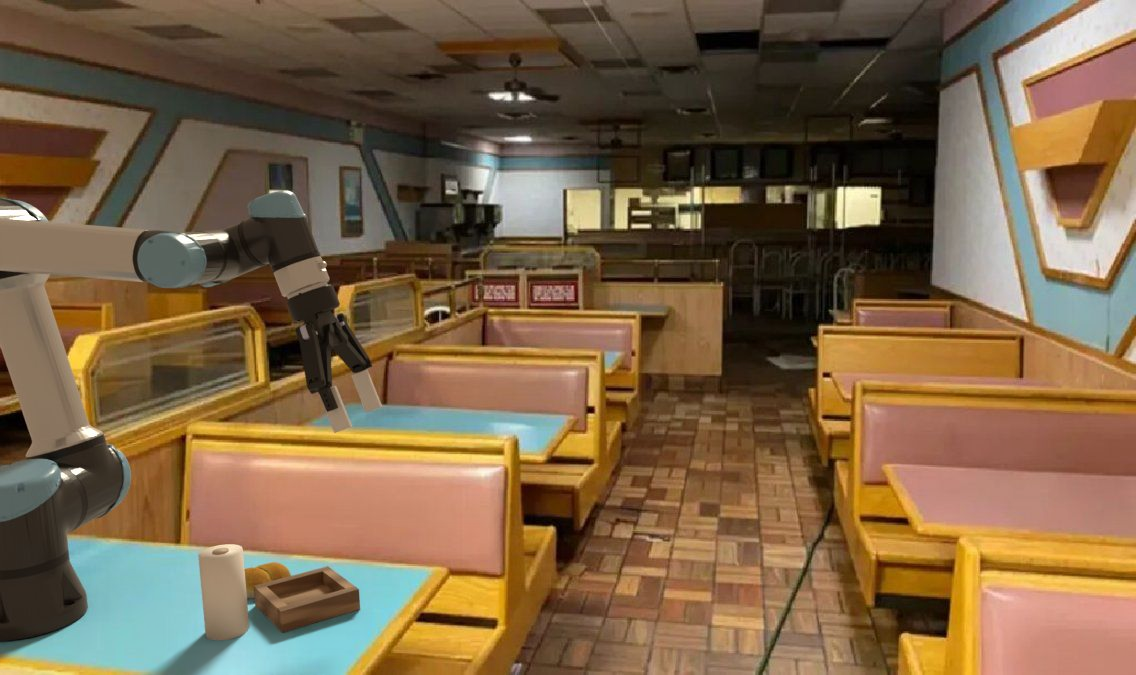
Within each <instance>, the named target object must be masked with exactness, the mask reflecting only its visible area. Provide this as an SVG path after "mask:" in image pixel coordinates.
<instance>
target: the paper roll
mask: <svg viewBox="0 0 1136 675" xmlns="http://www.w3.org/2000/svg"><path fill="white" fill-rule="evenodd" d="M197 556H198V568H199V575H200V576H199V578H200V588H201V600H202V609H203V610H202V611H203V621H204V622H203V623H204V633H205V637H206V638H207V639H209V640H212V641H227V640H228V641H229V640H231V639H235V638H238V637H240V636H242V635H244V634H246V633H247V632H248V631H249V630H248V629H250V619H249V618H250V617H249V610H248V609H249V608H248V606H249V604H248V598H247V594H246V582H245V570H244V569H245V560H244V550H243V546H242V545H239V544H233V543H231V544H230V543H229V544H219V545H214V546H210V547H207V548H204V549H203V550H201V551H200V552H199V553H198V555H197Z"/></svg>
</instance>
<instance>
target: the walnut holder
mask: <svg viewBox="0 0 1136 675" xmlns="http://www.w3.org/2000/svg"><path fill="white" fill-rule="evenodd" d="M254 597H255V598H254V605H255V608H257V609H258V610H259V611H260V612H261V613H262V614H264V616H265V617H266V618H267V619H268V620H269V621H270V622H271V623H272V624H273V625H274V626H275V627H276V628H278V630H279V631H280V632H282V633H286V632H289V631H293V630H296V629H298V628H299V629H300V628H302V627H305V626H306V627H307V626H309V625H312V624H315V623H319V622H322V621H325V620H328V619H332V618H336V617H338V616H342V615H345V614H349V613H352V612H356V611H359V610H361V600H360V589H359V587H357V586H355V585H354V584H353V583H351V581H348V580H347V579H346V578H344V576H342V575H340V574H339V573H338V572H337V571H335V570H334V569H333V568H331V567H330V566H329V565H326V566H324V567H320V568H316V569H312V570H308V571H304V572H301V573H297V574H294V575H291V576H289V577H285V578H282V579H278V580H274V581H270V582H267V583H263V584H259V585H255V586H254Z"/></svg>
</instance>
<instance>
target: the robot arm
mask: <svg viewBox="0 0 1136 675" xmlns="http://www.w3.org/2000/svg"><path fill="white" fill-rule="evenodd" d="M246 209H247V211H248V215H249V217H247V218H245V219H243V220H242V221H239V222H236V223H235V224H232V225H229V226H227V227H224V228H221V229H215V230H214V229H213V230H212V229H211V230H200V231H198V230H196V231H170V230H157V229H154V230H153V229H142V228H130V227H119V226H118V227H117V226H116V227H115V226H106V225H93V224H79V223H68V222H67V223H66V222H54V221H53V222H52V221H49V220H48V219H47V217H46V216H45V214H44V213H43V212H41V211H40V210H39V209H38V208H37V207H35V206H33V205H32V204H30V203H27V202H26V201H22V200H18V199H17V200H16V199H10V198H6V197H0V349H1V352H2V355H3V359H4V361H5V364H6V367H7V370H8V373H9V376H10V379H11V381H12V382H11V383H12V385H13V388H14V391H15V393H16V394H15V395H16V397H17V400H18V403H19V406H20V409H21V412H22V415H23V418H24V421H25V424H26V427H27V430H28V432H29V436H30V438H31V445H30V447H29V448H28V450H27V452H26V454H25V458H26V459H23V460H18V461H14V462H12V463H10V464H3V465H0V642H2V641H16V640H22V639H28V638H33V637H36V636H41V635H44V634H48V633H50V632H54V631H57V630H59V629H61V628H64V627H66V626H68V625H71V624H73V623H74V622H75V621H77V620H79V619H80V618H81V617H82V616H84V614H85V613H86V612H87V611H88V609H89V608H88V607H89V604H88V596H87V592H86V589H85V587H84V585H83V584H82V582H81V580H80V578H79V576H78V574H77V572H76V570H75V569H74V567H73V564H72V562H71V560H70V552H69V543H68V541H69V540H68V534H69V533H71V532H73V531H75V530H77V529H79V528H81V527H83V526H85V525H87V524H88V523H91V522H92V521H94V520H97V519H100V518H103V517H104V516H106V515H107V514H109V513H110V512H111V511H112V510H113V509H115V508H116V507H118V506H119V505H120V504H121V503H122V502H123V501H124V499H126V498H125V497H126V496H127V494H128V492H129V490H130V487H131V483H132V471H131V466H130V462H129V461H128V459H127V457H126V456H125V454H124V453H123V451H121V450H118V449H117V448H116V446H115V445H113V444H110V443H108V442H107V440H106V436H105V435H104V432H103V431H102V430H100V429H98V428H96V427H93V426H92V425H91V424H90V421H89V419H88V416H87V412H86V409H85V407H84V403H83V400H82V397H81V394H80V392H79V388H78V385H77V382H76V379H75V376H74V373H73V370H72V367H71V364H70V360H69V358H68V355H67V351H66V348H65V345H64V342H63V339H62V336H61V332H60V330H59V327H58V324H57V321H56V318H55V314H54V312H53V308H52V305H51V302H50V298H49V295H48V293H47V290H46V282H47V281H48V279H49V278H50V276H51V275H53V276H63V277H64V276H66V277H77V278H89V279H101V280H102V279H103V280H115V281H125V282H140V283H149V284H151V285H153V286H156V287H158V288H163V289H182V288H183V289H184V288H187V287H189V286H193V285H198V284H199V285H200V286H201V287H204V288H210V287H214V286H217V285H220V284H226V283H228V282H230V281H231V280H233V279H235V278H237V277H240V276H242V275H244V274H248V273H249V272H253V271H255V270H257V269H259V268H262V267H266V266H268V265H269V266H270V268H271V270H272V272H273V275H274V278H275V281H276V283H277V286H278V288H279V291H280V293H281V296H282V297H284V298H287V300H285V301H286V302H285V305H286V307H287V310H288V312H289V316H290V317H291V320H292V321H293V322H294V323H299V322H303V325H302V326H298V327H296V328H295V333H296V336H297V339H298V341H299V342H298V343H299V347H300V354H301V359H302V365H303V371H304V376H305V377H304V378H305V383H306V386H307V390H308V392H309V393H310V394H311V395H314V394H317V395H318V396H319V398H320V401H321V403H322V406H323V409H324V411H325V413H326V415H327V419H328V420H329V423H330V426H331V429H332V430H333V432H334V434H336V433H339V432H341V431H345V430H347V429H350V428H352V427H353V425H352V422H351V419H350V417H349V415H348V414H349V413H348V412H347V410H346V407H345V404H344V401H343V400H342V399H343V398H342V396H341V394H340V392H339V389H338V387H337V385H334V386H333V376H332V375H333V373H332V372H333V371H332V355H331V353H332V350H333V351H334V352H335V353H336V355H337V356H338V357H339V358H340V360H341V361H342V362H343V363H344V364H345V365H346V366H347V368H349V370H350V371H351V372H352V373H353V374H351V375H350V376H351V379H352V382H353V385H354V386H355V390H356V391H357V394H358V396H359V399H360V401H361V404H362V407H363V410H364V412H365V413H369V412H371V411H374V410H377V409H381V408H382V407H383V405H382V403H381V400H380V398H379V395H378V392H377V389H376V387H375V385H374V383H373V378H371V375H370V372H369V370H368V369H370V368H373V364H372V361H371V359H370V357H369V356H368V354H367V352H366V351H365V349H364V347H363V346H362V344H361V343H360V341H359V339H358V338H357V336H356V335H355V334H354V332H353V330H352V328H351V327H350V325H349V324H348V321H347V319H346V317H345V314H344V313H343V312H340V313H338V314H334V311H333V310H335V309H337V308H338V307H340V304H341V303H340V300H339V296H338V294H337V293H336V290H335V287H334V285H332V284H328V283H329V282H330V276H329V273H328V271H327V269H326V268H327V265H328V264H327V262H326V261H324V260H323V259H322V258H323V257H322V256H321V253H320V251H319V249H318V246H317V244H316V241H315V238H314V234H313V232H312V230H311V227H310V225H309V222H308V220H307V214H305V213H304V210H303V208H302V206H301V204H300V202H299V200H298V197H297V195H296V194H295V193H294V192H293V191H291V190H288V189H286V190H285V189H284V190H283V189H282V190H277V191H274V192H269V193H267V194H264V195H261V196H258V197H256V198H255V199H253V200H251V201H249V203H248V204H247V208H246Z"/></svg>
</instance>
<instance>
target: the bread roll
mask: <svg viewBox="0 0 1136 675" xmlns="http://www.w3.org/2000/svg"><path fill="white" fill-rule="evenodd" d="M244 570H245V582H246V594H247V599H255V597H254V586H255V585H259V584H263V583H267V582H270V581H274V580H278V579H282V578H285V577H289V576H292V573H291V572H290V570H289V568H288V567H287V566H286V565H285V564H283V563H280V562H277V561H276V562H275V561H273V562H267V563H262V564H259V565H257V566H255V567H248V568H244Z"/></svg>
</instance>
